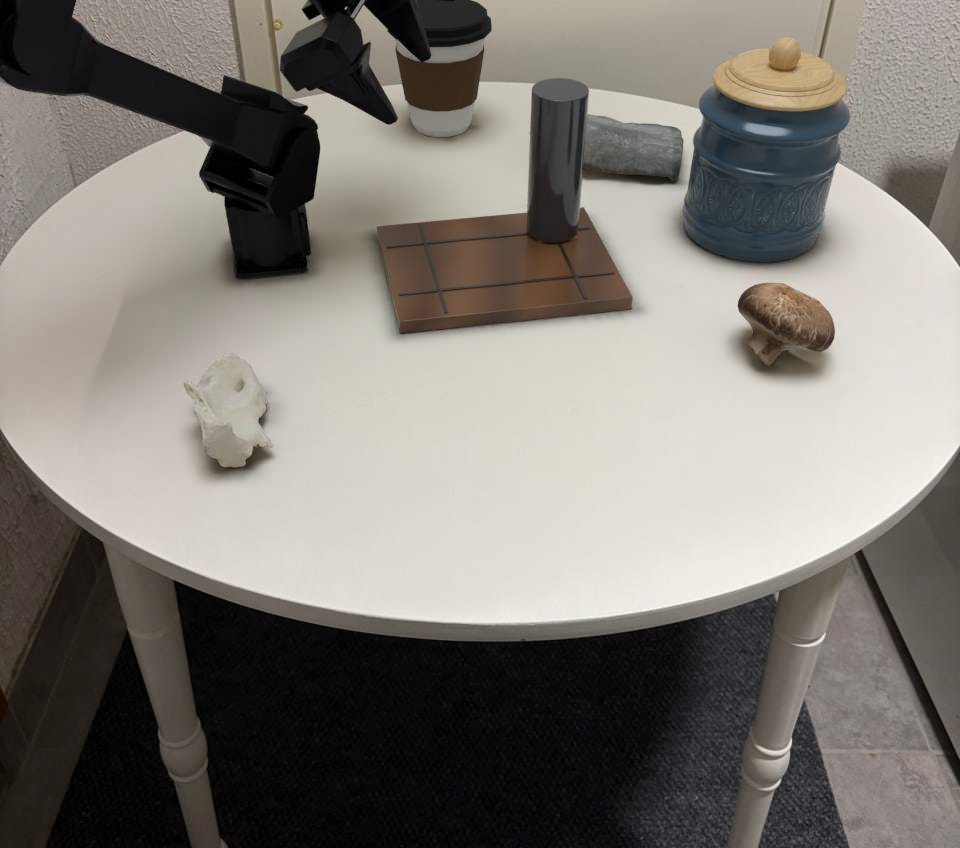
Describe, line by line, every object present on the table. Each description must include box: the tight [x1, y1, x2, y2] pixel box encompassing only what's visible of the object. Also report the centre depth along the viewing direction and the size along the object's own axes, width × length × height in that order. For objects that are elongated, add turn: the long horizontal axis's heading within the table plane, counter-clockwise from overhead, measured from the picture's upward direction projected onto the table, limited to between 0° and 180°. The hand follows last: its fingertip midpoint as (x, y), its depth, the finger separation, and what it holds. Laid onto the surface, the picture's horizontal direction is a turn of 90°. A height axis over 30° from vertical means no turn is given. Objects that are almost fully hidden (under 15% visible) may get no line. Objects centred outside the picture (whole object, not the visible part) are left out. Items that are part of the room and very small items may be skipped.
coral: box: [183, 352, 274, 469], centre depth 76 cm, size 6×10×4 cm, turn 17°
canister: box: [682, 36, 851, 263], centre depth 93 cm, size 13×13×18 cm
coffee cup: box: [386, 0, 493, 138], centre depth 112 cm, size 11×11×12 cm
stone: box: [583, 113, 685, 182], centre depth 109 cm, size 11×4×15 cm
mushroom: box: [737, 282, 836, 367], centre depth 84 cm, size 8×8×6 cm
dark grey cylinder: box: [526, 77, 590, 243], centre depth 92 cm, size 5×5×13 cm
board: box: [375, 207, 634, 334], centre depth 93 cm, size 20×16×1 cm
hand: (410, 90), depth 90 cm, fingers open, 9 cm apart
